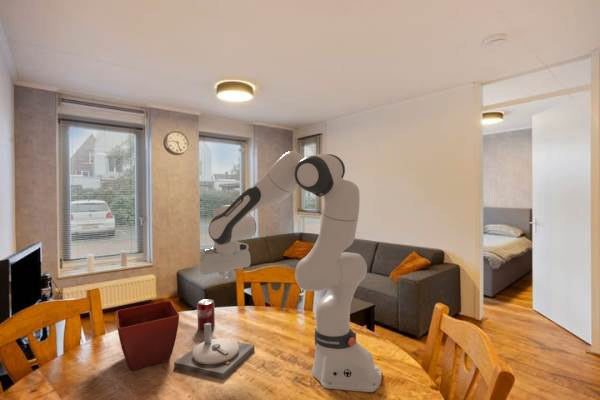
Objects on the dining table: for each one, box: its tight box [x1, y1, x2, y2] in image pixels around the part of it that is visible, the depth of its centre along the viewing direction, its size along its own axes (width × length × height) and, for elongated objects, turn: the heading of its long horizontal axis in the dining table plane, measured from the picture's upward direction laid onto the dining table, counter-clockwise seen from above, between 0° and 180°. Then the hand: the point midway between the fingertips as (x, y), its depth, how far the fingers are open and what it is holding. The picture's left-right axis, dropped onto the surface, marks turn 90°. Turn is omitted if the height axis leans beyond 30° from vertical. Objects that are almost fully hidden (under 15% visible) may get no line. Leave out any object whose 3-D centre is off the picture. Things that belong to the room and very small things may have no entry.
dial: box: [192, 323, 239, 365], centre depth 112 cm, size 16×16×8 cm
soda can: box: [196, 298, 216, 333], centre depth 138 cm, size 7×7×12 cm
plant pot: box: [115, 300, 180, 371], centre depth 113 cm, size 19×19×17 cm
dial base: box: [173, 336, 255, 381], centre depth 112 cm, size 20×20×2 cm
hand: (226, 281), depth 122 cm, fingers closed
